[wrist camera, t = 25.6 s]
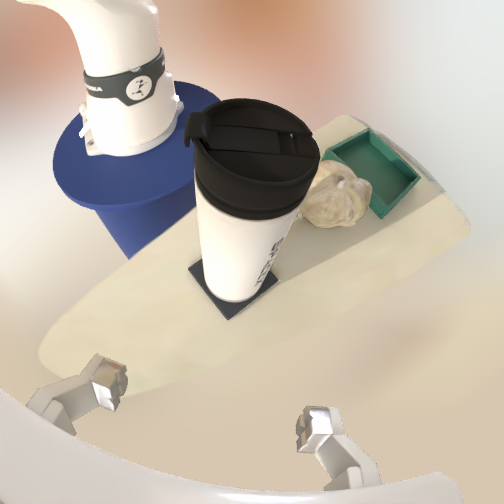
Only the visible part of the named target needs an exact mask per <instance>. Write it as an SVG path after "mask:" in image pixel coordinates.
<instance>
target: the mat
mask: <svg viewBox="0 0 504 504" xmlns="http://www.w3.org/2000/svg"><path fill="white" fill-rule="evenodd" d="M188 270H189V271H190V273H191V274H192V275H193V277H194V278H195V279H196V281H197V282H198V283H199V285H200V286H201V287H202V288H203V290H204V291H205V292H206V294H207V295H208V296H209V297H210V299H211V300H212V301H213V303H214V304H215V305H216V306H217V308H218V309H219V310H220V311H221V313H222V314H223V315H224V316H225V318H226V319H227V320H229V319H230V318H231V317H233V316H234V315H235V314H237V313H238V312H239V311H240V310H242V309H243V308H244V307H246V306H247V305H248V304H250V303H251V302H252V301H253V300H255V299H256V298H257V297H258V296H260V295H261V294H262V293H264V292H265V291H266V290H267V289H269V288H270V287H271V286H272V285H274V284H275V283H276V282H277V281H278V279H277V278H276V277H275V276H274V275H273V274H272V272H271V271H270V270H269V271H268V273H267V275H266V277H265V279H264V281H263V283H262V284H261V286H260V288H259V290H258V291H257V292H256V294H255V295H253V296H252V297H251V298H249V299H247V300H245V301H242V302H235V303H234V302H227V301H223V300H221V299H219V298H217V297H216V296H215V295H214V294H213V293H212V292H211V291H210V290H209V288H208V286H207V285H206V281H205V276H204V268H203V260H202V259H201V260H199V261H198V262H196V263H195V264H194V265H192V266H191V267H189V268H188Z"/></svg>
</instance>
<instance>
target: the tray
mask: <svg viewBox="0 0 504 504" xmlns="http://www.w3.org/2000/svg"><path fill="white" fill-rule="evenodd" d="M324 160H334V161H337V162H340V163H342V164H344V165H346V166H347V167H349V168H350V169H351V170H352V171H353V172H354V174H355V175H356V177H357V178H362V179H364V180H367V181H368V182H369V183H370V184H371V187H372V194H371V199H370V203H369V207H370V208H371V209H372V210H373V211H374V212H375V213H376V214H377V215H378V216H379V217H380V218H381V219H382V218H383V217H384V216H385V215H386V214H387V213H388V212H389V211H390V210H391V209H392V208H393V207H394V206H395V205H396V204H397V203H398V202H399V201H400V200H401V199H402V198H403V197H404V196H405V195H406V194H407V193H408V191H409V190H410V189H411V188H412V187H413V186H414V185H415V184H416V183H417V182H418V181H419V180H420V178H421V177H420V176H419V175H418V174H417V173H416V172H415V171H414V170H413V168H412V167H411V166H410V165H409V164H408V163H407V162H406V161H405V160H403V159H402V158H401V157H400V156H399V155H398V154H397V153H396V152H395V151H394V150H393V149H392V148H391V147H390V146H389V145H388V144H386V143H385V142H384V141H383V140H382V139H381V138H380V137H379V136H377V135H376V134H375V133H374V132H373V131H372V130H370V129H369V128H367V129H365V130H363V131H361V132H359V133H357V134H355V135H353V136H351V137H349V138H348V139H346V140H344V141H342V142H340V143H338V144H336V145H334V146H332V147H330V148H328V149H327V150H326V152H325V154H324V156H323V158H322V161H324Z"/></svg>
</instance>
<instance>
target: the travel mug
mask: <svg viewBox="0 0 504 504" xmlns="http://www.w3.org/2000/svg"><path fill="white" fill-rule="evenodd" d="M190 138H192V142H193V144H194V147H195V152H194V162H195V170H194V177H195V191H196V202H197V213H198V223H199V233H200V243H201V251H202V260H203V268H204V276H205V281H206V285H207V286H208V288H209V290H210V291H211V292H212V293H213V294H214V295H215V296H216V297H217V298H219V299H221V300H223V301H227V302H234V303H235V302H242V301H245V300H247V299H249V298H251V297H252V296H253V295H255V294H256V292H257V291H258V290H259V288H260V286H261V284H262V283H263V281H264V279H265V277H266V275H267V273H268V271H269V269H270V267H271V265H272V263H273V261H274V260H275V258H276V256H277V254H278V252H279V250H280V248H281V246H282V244H283V242H284V240H285V238H286V236H287V234H288V232H289V230H290V228H291V226H292V224H293V222H294V220H295V218H296V216H297V214H298V212H299V210H300V208H301V206H302V204H303V202H304V200H305V198H306V196H307V194H308V190H309V188H310V186H311V184H312V182H313V179H314V177H315V175H316V173H317V171H318V167H319V161H320V152H319V148H318V146H317V143H316V141H315V140H314V139H313V138H312V132H311V131H310V129H309V128H308V127H307V126H306V124H305V123H304V122H303V121H302V120H300V119H299V118H298V117H297V116H295V115H294V114H292V113H290V112H289V111H287V110H285V109H283V108H281V107H279V106H277V105H274V104H271V103H268V102H265V101H260V100H256V99H246V98H244V99H243V98H242V99H241V98H237V99H228V100H223V101H220V102H217V103H215V104H213V105H211V106H209V107H207V108H206V109H205V110H204V111H202V112H195V113H190V114H189V117H188V119H187V122H186V126H185V133H184V144H185V147H189V144H190Z"/></svg>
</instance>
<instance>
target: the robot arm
mask: <svg viewBox="0 0 504 504" xmlns="http://www.w3.org/2000/svg"><path fill="white" fill-rule="evenodd" d="M17 1H18V2H21V3H25V4H36V5H41V6H45V7H47V8H50V9H52V10H54V11H56V12H57V13H58V14H60V15H61V16H62V17H63V18H64V19H65V20H66V21H67V22H68V24H69V25H70V27H71V29H72V31H73V33H74V35H75V38H76V41H77V44H78V46H79V50H80V53H81V57H82V60H83V63H84V68H85V70H84V83H85V86H86V88H87V91H86V102H84V103H82V104H80V105H79V110H80V113H81V116H82V117H83V127H84V128H83V129H82V130H81V132H80V133H79V135H80V137H82V136H83V135H84V136H85V144H86V150H87V154H88V155H90V156H95V155H101V154H108V155H112V156H131V155H136V154H140V153H143V152H145V151H148V150H150V149H152V148H154V147H156V146H158V145H159V144H161V143H162V142H164V141H165V140H166V139H167V138H168V137H169V136H170V135H171V134H172V132H173V131H174V129H175V127H176V124H177V118H178V115H179V114H180V113H181V112H182V111H183V109H184V105H183V102H181V101H179V96H177V95H176V94H175V87H174V81H173V76H172V74H171V73H169V72H168V71H165V57H164V54H163V49H162V48H161V47H160V39H159V18H158V8H157V6H156V4H155V3H154V2H153V1H152V0H17ZM126 371H127V369H126V365H123V364H121V363H118V362H116V361H113V360H111V359H109V358H106V357H104V356H101V355H99V354H95V355H94V356H93V357H92V359H91V360H90V361H89V363H88V364H87V365H86V367H85V368H84V370H83V371H82V372H81V374H80V375H74V376H72V377H69V378H66V379H64V380H61V381H58V382H56V383H53V384H50V385H47V386H45V387H42V388H39V389H38V390H37V391H36V392H35V394H34V395H33V397H32V398H31V399H30V401H29V402H28V403H27V405H26V406H24V405H23V404H21V403H20V402H19V401H17V400H16V399H14V398H13V397H12V396H11V395H9V394H8V393H7V392H6V391H4V390H3V389H2V388H1V387H0V504H464V502H463V498H462V494H461V491H460V488H459V486H458V484H457V483H456V482H455V481H454V480H452V479H451V478H450V477H448V476H447V475H445V474H444V473H442V472H440V471H436V472H432V473H429V474H425V475H422V476H418V477H414V478H410V479H406V480H402V481H398V482H392V483H387V484H381V479H380V475H379V471H378V467H377V464H376V463H375V462H374V461H373V460H372V459H371V458H370V457H369V456H368V455H367V454H366V453H365V452H364V451H363V450H362V449H361V448H360V447H359V446H358V445H357V444H356V443H355V442H354V441H353V440H352V439H351V438H350V437H349V436H348V435H345V434H344V429H343V425H342V420H341V416H340V411H339V409H338V408H331V407H318V406H306V407H305V408H304V410H303V413H304V414H302V415H300V416H299V418H298V420H297V423H296V434H297V435H298V436H299V438H298V440H297V441H296V442H297V452H300V453H315V454H314V455H315V456H316V457H317V459H318V460H319V462H320V463H321V465H322V466H323V467H324V468H325V470H326V471H327V473H328V474H329V475H330V477H331V478H332V479H333V481H332V482H330V483H329V484H327V485H326V486H325V487H324V491H316V492H285V491H265V490H253V489H244V488H236V487H229V486H223V485H217V484H211V483H205V482H201V481H196V480H191V479H187V478H183V477H179V476H175V475H171V474H168V473H165V472H161V471H158V470H155V469H151V468H148V467H145V466H142V465H139V464H137V463H134V462H131V461H128V460H126V459H123V458H120V457H118V456H116V455H113V454H111V453H108V452H106V451H104V450H102V449H99V448H97V447H95V446H93V445H91V444H89V443H86V442H84V441H83V440H81V439H79V438H77V437H75V435H76V431H75V429H74V427H73V425H72V423H71V422H73V421H74V420H76V419H78V418H80V417H81V416H83V415H85V414H87V413H88V412H90V411H92V410H94V409H95V408H97V407H98V405H99V406H101V407H104V408H106V409H109V410H111V411H114V412H115V411H116V409H117V407H118V405H119V403H120V398H119V397H120V396H122V395H124V393H125V391H126V388H127V385H128V377H127V376H126V374H125V373H126Z"/></svg>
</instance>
